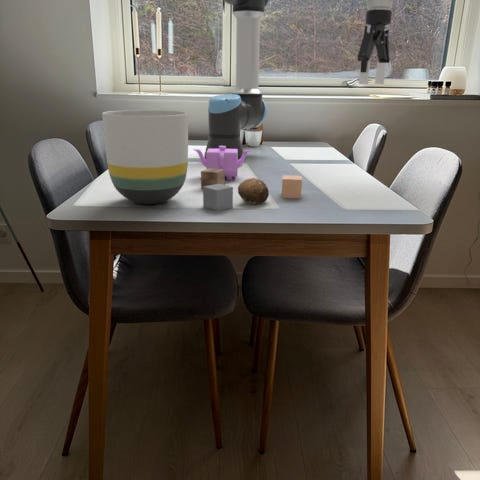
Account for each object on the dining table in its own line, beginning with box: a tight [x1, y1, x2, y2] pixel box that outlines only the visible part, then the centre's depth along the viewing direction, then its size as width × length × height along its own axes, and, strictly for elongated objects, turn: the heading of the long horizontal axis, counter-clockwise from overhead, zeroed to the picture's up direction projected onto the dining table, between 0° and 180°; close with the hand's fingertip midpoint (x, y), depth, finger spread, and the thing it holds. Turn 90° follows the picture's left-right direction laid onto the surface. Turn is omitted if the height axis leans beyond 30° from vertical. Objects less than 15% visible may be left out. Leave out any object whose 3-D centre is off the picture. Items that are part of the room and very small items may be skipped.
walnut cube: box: [200, 168, 226, 190], centre depth 129 cm, size 5×5×5 cm
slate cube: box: [202, 184, 234, 212], centre depth 110 cm, size 5×5×5 cm
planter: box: [101, 109, 189, 205], centre depth 111 cm, size 20×20×21 cm
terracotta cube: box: [281, 174, 303, 199], centre depth 122 cm, size 5×5×5 cm
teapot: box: [192, 146, 252, 181], centre depth 142 cm, size 18×13×10 cm
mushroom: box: [237, 177, 270, 206], centre depth 115 cm, size 8×8×6 cm
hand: (371, 84), depth 147 cm, fingers open, 13 cm apart
